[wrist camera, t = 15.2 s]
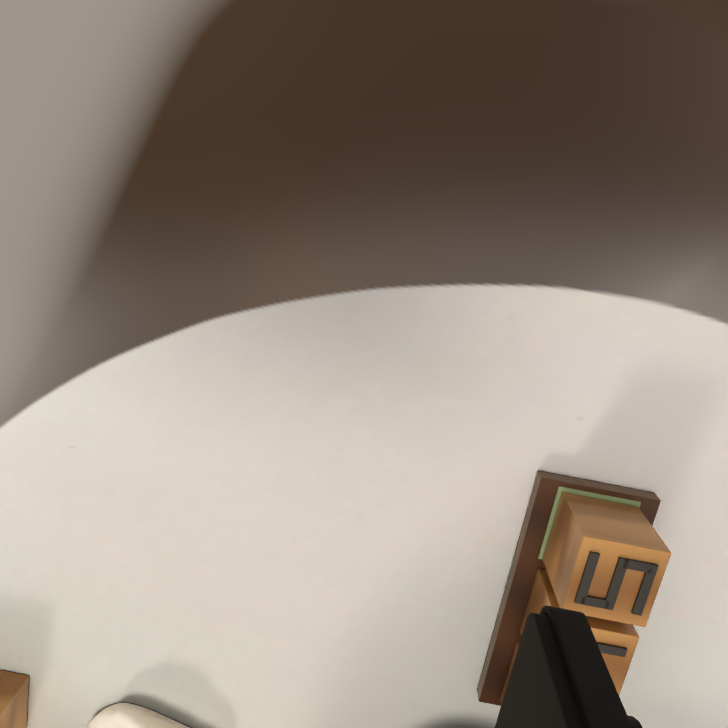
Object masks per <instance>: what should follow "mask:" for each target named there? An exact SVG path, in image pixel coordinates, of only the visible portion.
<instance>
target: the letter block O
mask: <svg viewBox="0 0 728 728" xmlns="http://www.w3.org/2000/svg"><path fill="white" fill-rule="evenodd" d="M28 687H29V676H28V675H23V674H18V673H13V672H7V671H2V670H0V728H26V727H27V708H28Z"/></svg>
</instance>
